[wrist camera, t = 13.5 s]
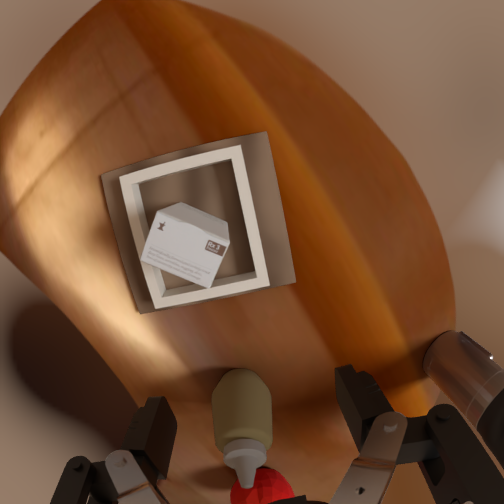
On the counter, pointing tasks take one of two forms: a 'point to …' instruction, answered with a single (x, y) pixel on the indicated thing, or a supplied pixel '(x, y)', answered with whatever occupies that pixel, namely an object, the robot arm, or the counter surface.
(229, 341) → the counter surface
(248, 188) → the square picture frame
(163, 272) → the board
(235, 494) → the tomato
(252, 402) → the squeeze bottle
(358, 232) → the counter surface
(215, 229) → the skincare box
